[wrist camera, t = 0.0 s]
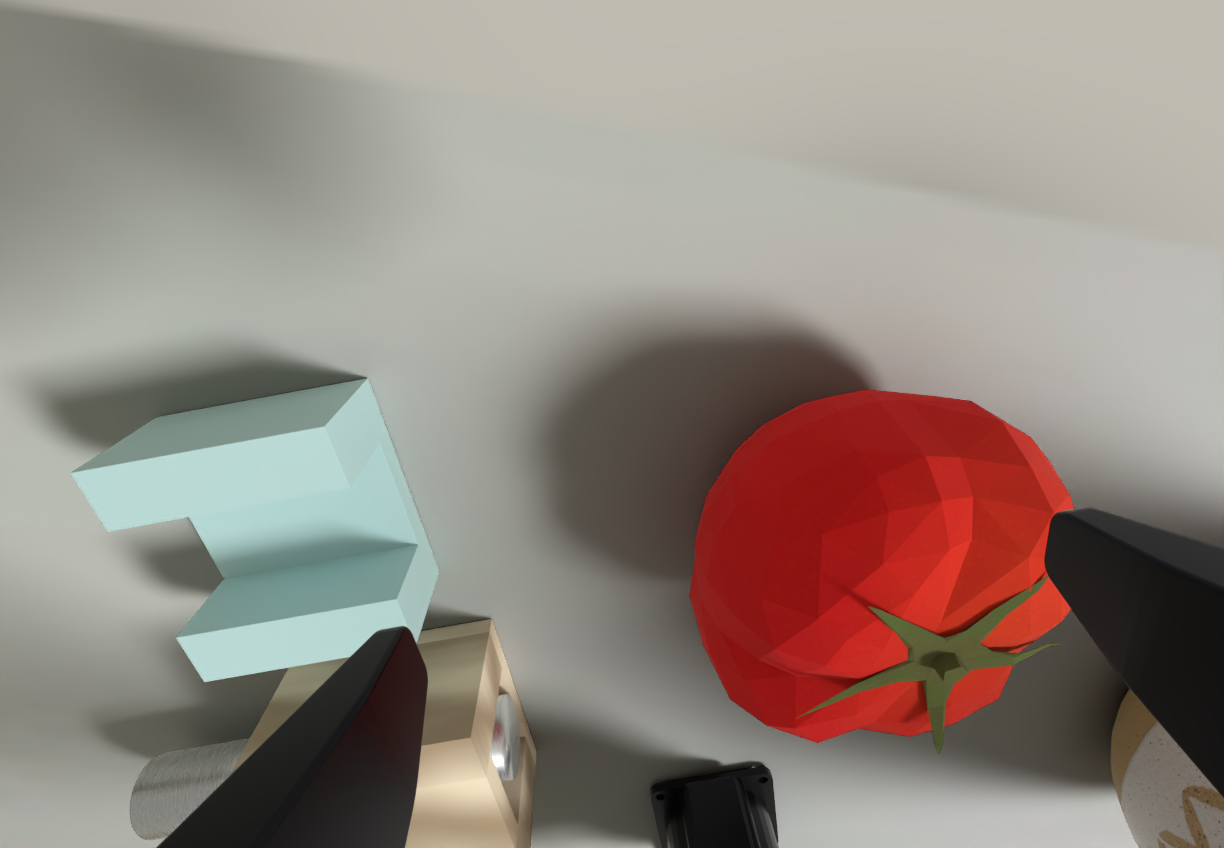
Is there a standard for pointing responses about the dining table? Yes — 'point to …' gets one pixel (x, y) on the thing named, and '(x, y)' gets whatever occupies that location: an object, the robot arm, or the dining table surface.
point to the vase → (1161, 785)
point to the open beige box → (446, 741)
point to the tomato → (876, 564)
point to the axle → (196, 772)
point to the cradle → (279, 523)
